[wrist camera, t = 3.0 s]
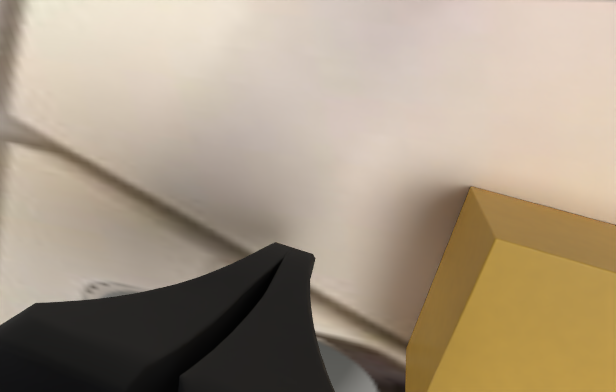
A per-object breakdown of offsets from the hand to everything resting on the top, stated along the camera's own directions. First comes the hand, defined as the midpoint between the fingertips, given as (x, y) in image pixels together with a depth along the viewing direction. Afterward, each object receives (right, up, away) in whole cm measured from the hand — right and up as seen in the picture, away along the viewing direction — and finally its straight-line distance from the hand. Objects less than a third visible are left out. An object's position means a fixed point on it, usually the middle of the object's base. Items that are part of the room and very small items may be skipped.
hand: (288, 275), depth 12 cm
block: (+8, -1, +1) cm, 9 cm away
